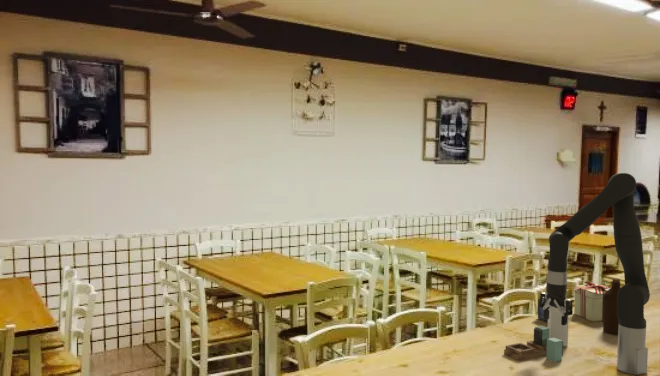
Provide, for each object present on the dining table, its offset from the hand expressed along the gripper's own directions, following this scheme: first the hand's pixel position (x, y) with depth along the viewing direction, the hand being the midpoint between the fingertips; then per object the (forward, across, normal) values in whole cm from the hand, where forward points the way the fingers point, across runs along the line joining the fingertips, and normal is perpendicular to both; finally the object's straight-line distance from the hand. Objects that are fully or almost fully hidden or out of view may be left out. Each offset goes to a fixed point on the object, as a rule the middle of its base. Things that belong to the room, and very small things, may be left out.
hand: (554, 322), depth 223 cm
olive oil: (+15, +13, -55) cm, 58 cm away
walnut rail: (+15, +8, +3) cm, 18 cm away
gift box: (+16, +34, -68) cm, 77 cm away
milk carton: (+15, +13, -17) cm, 26 cm away
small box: (+16, +39, -42) cm, 59 cm away
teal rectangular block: (+15, 0, 0) cm, 15 cm away
